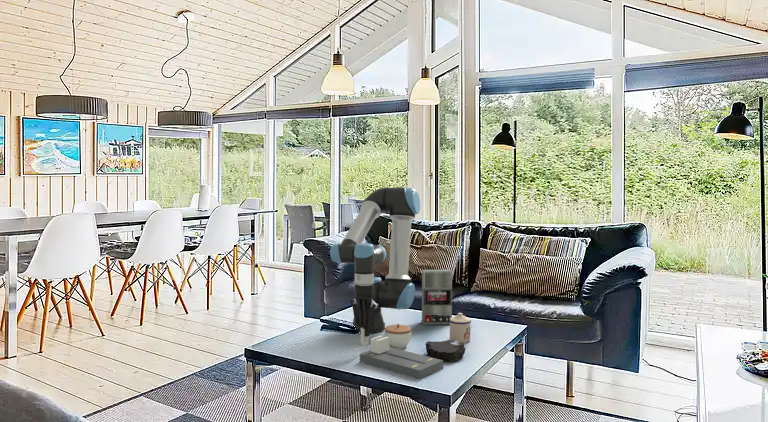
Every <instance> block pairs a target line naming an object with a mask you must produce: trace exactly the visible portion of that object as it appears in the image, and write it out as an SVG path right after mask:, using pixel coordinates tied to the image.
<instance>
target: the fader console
mask: <svg viewBox="0 0 768 422" xmlns="http://www.w3.org/2000/svg"><path fill="white" fill-rule="evenodd" d="M360 361H361V362H360ZM359 362H360V363H362V362H364V363H363V364H365V363H367V364H366V365H369V364H370V365H369V366H372V365H373V367H376V368H380V369H382V370H387V371H391V372H393V373H397V374H400V375H404V376H408V377H411V378H414V379H417V380H418V379H419V380H421V379H424V378H425V377H427V376H430V375H432V374H434V373H436V372H438V371H439V372H440V371H441V370H444V362H443V360H440V359H436V358H432V357H428V356H427V355H423V354H419V353H416V352H412V351H411V352H410V351H407V350H403V349H396V348H392V347H391V346H389V350H388V351H386V352H383V353H380V354H377V353H373V352H371V349H370V350H368V351H364V352H363V353H362V352H361V353H360V354H359Z"/></svg>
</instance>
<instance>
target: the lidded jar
mask: <svg viewBox="0 0 768 422" xmlns="http://www.w3.org/2000/svg"><path fill="white" fill-rule="evenodd" d="M384 332H385V333H384V336H386V337H389V347H392V348H396V349H400V350H403V349H406V347H407V346H408V344H409V343H410V342H411V338H412V327H411V326H409V325H405V324H400V323H397V324H391V325H387V326H385V330H384Z"/></svg>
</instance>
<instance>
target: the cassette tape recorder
mask: <svg viewBox="0 0 768 422" xmlns="http://www.w3.org/2000/svg"><path fill="white" fill-rule="evenodd" d="M452 317H453V270H451V269H422V270H421V324H422V325H423V326H426V325H429V326H431V325H432V326H433V325H450V321H449V320H450V318H452Z"/></svg>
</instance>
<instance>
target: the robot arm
mask: <svg viewBox="0 0 768 422" xmlns="http://www.w3.org/2000/svg"><path fill="white" fill-rule="evenodd" d="M420 210H421V200H420V195H419V193H418V190H417V189H415V188H414V187H406V186H405V187H381V188H378V189H376V190H374V191H373V192H371V193H370V194H369V195H368V196H367V197H366V198H364V200H363V201H362V202H361V205H360V211H359V212H358V214H357V216H356V217H355V220H354V221H353V223H352V225H350V228H349V229H348V231H347V233H346V234H345V236H344V238H343V239H342V240H341V243H337V244H336V243H335V244H333V245H331V248H330V251H329V255H330V259H331V261H332V262H333V263H339V264H354V283H355V285H354V295H355V296H354V299H351V300H350V304H351V307H352V312H353V321H352V323H353V325H354V326H355V327H356V330H357V331H358V332H357V333H359V332H360V333H359V336H360V346H361V345H362V346H366V345H368V344H369V336H370V334H377V333H380V332H385V327H386V322H385V321H384V317H383V313H382V308H384V309H395V310H408V309H409V308H411V306H412V304H413V302H414V299H415V295H416V287H415V284H414V283H413V282H412V278H411V277H410V276H409V263H410V252H411V251H410V250H411V234H412V233H411V231H412V222H413V220H415V218H416V215H418V214H420ZM381 214H388V215H389V218H390V219H391V236H390V237H391V238H390V249H389V262H388V263H389V264H388V268H389V269H388V274H387V275H386V276H385V278H384V281H383V280H382V278H381V276H380V277H379V276H378V277H377V276H375V266H377V265H379V264H382V263H383V262H384V261H385V260H386V258H387V251H386V249H385V247H384V246H382V245H380V244H372V243H370V242H369V243H366V242H365V243H364V240H365V238H366V237H367V235H368V233H369V231H370V229H371V228H372V225H373V224H374V222H375V220H376V219H377V218H379V217H380V216H381Z"/></svg>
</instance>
